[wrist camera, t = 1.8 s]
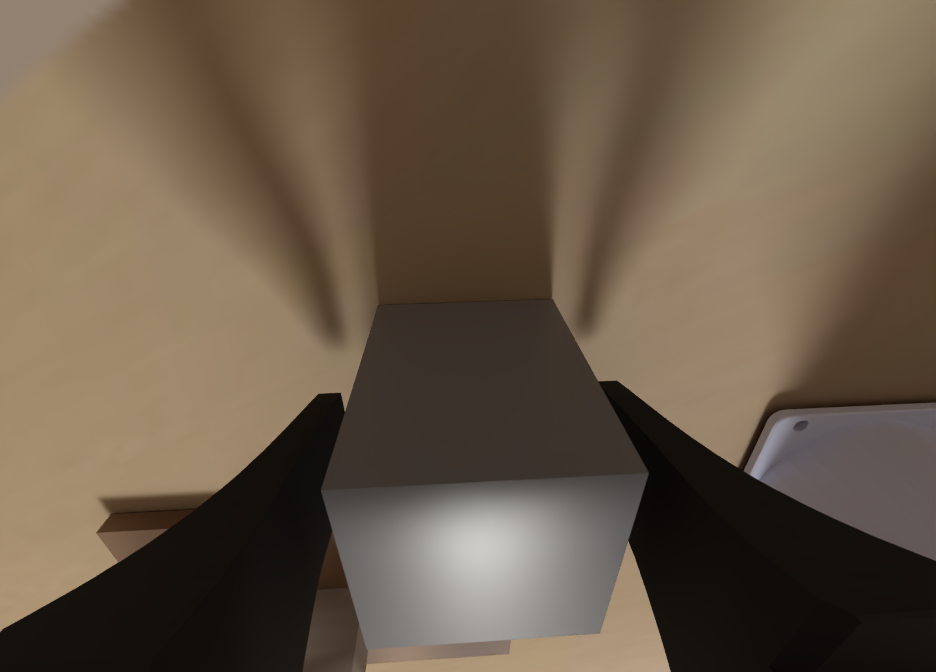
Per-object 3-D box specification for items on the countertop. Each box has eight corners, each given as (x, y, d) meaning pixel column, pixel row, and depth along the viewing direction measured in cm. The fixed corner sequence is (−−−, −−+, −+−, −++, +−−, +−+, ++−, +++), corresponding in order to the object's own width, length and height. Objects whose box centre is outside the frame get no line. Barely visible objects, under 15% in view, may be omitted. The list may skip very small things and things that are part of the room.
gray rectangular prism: (552, 299, 12) (649, 472, 7) (539, 428, 15) (599, 633, 9) (378, 305, 12) (321, 489, 6) (396, 435, 15) (366, 649, 9)
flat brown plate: (518, 492, 17) (551, 662, 12) (507, 637, 23) (525, 790, 18) (111, 513, 16) (-42, 705, 11) (212, 657, 22) (143, 822, 17)
